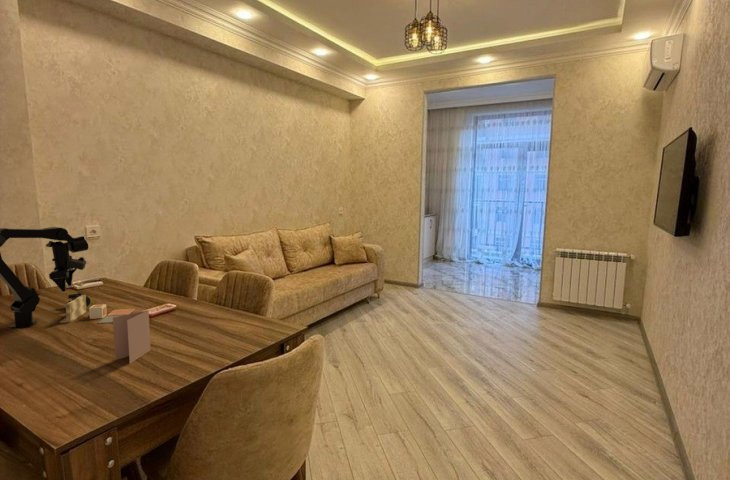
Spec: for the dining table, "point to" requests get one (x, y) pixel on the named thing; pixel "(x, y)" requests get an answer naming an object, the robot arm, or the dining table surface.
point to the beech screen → (75, 309)
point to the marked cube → (97, 311)
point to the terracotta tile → (121, 312)
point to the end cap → (78, 296)
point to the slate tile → (107, 319)
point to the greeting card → (131, 335)
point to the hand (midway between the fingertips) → (67, 288)
